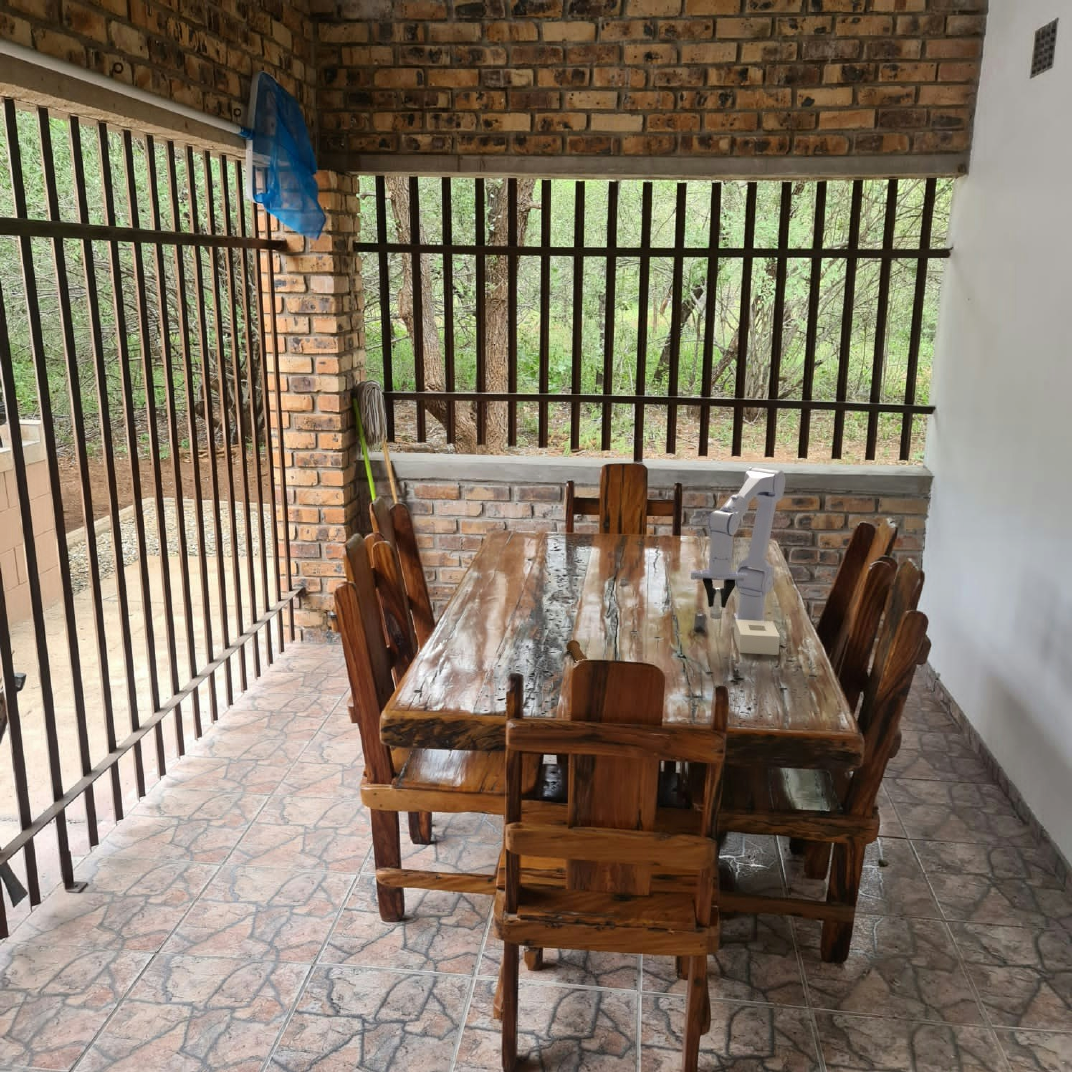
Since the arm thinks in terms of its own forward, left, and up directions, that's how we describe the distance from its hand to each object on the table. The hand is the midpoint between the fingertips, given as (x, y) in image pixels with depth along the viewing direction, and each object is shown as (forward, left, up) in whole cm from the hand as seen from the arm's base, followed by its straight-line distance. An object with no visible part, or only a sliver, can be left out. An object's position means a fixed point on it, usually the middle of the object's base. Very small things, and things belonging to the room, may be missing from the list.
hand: (716, 606), depth 253 cm
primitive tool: (+20, -34, -11) cm, 41 cm away
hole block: (0, +11, -10) cm, 15 cm away
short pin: (-10, -3, -10) cm, 15 cm away
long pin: (0, 0, -3) cm, 3 cm away
